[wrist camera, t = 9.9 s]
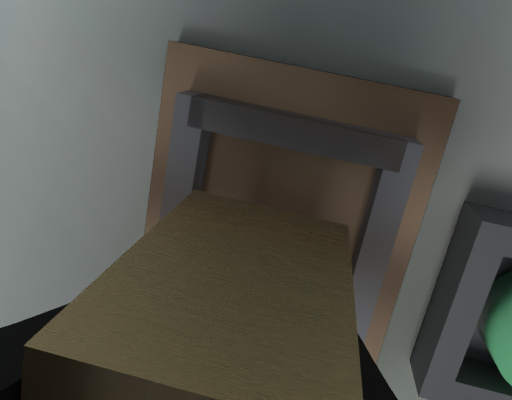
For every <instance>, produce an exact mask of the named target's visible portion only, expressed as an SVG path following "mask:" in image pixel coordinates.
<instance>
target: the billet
mask: <svg viewBox="0 0 512 400" xmlns="http://www.w3.org/2000/svg"><path fill="white" fill-rule="evenodd" d="M21 400H363V393H362V381H361V369H360V357H359V345H358V333H357V321H356V309H355V297H354V285H353V274H352V262H351V250H350V238H349V226H348V225H344V224H340V223H335V222H331V221H327V220H323V219H318V218H314V217H310V216H305V215H301V214H297V213H293V212H288V211H284V210H280V209H276V208H271V207H267V206H263V205H258V204H254V203H250V202H246V201H241V200H237V199H233V198H229V197H224V196H220V195H216V194H211V193H207V192H203V191H199V190H193V191H192V192H191V193H190V194H189V195H188V196H187V197H186V198H184V199H183V200H182V201H181V202H180V203H179V204H178V205H177V206H176V207H175V208H174V209H172V210H171V211H170V212H169V213H168V214H167V215H166V216H165V217H164V218H163V219H161V220H160V221H159V222H158V223H157V224H156V225H155V226H154V227H153V228H152V229H151V230H149V231H148V232H147V233H146V234H145V235H144V236H143V237H142V238H141V239H140V240H138V241H137V242H136V243H135V244H134V245H133V246H132V247H131V248H130V249H129V250H128V251H126V252H125V253H124V254H123V255H122V256H121V257H120V258H119V259H118V260H117V261H115V262H114V263H113V264H112V265H111V266H110V267H109V268H108V269H107V270H106V271H105V272H103V273H102V274H101V275H100V276H99V277H98V278H97V279H96V280H95V281H94V282H92V283H91V284H90V285H89V286H88V287H87V288H86V289H85V290H84V291H83V292H81V293H80V294H79V295H78V296H77V297H76V298H75V299H74V300H73V301H72V302H71V303H69V304H68V305H67V306H66V307H65V308H64V309H63V310H62V311H61V312H60V313H58V314H57V315H56V316H55V317H54V318H53V319H52V320H51V321H50V322H49V323H48V324H46V325H45V326H44V327H43V328H42V329H41V330H40V331H39V332H38V333H37V334H35V335H34V336H33V337H32V338H31V339H30V340H29V341H28V342H27V343H26V344H25V345H23V366H22V389H21Z"/></svg>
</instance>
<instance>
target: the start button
mask: <svg viewBox="0 0 512 400" xmlns="http://www.w3.org/2000/svg"><path fill="white" fill-rule="evenodd" d="M477 327H478V330H479V333H480V335H481V337H482V339H483V341H484V343H485V344H486V346H487V348H488V350H489V352H490V354H491V356H492V358H493V359H494V361H495V363H496V365H497V367H498V369H499V371H500V373H501V374H502V376H503V377H504V379H505V380H506V381H507V382H508V383H509V384H510V385H511V386H512V271H511V272H508V273H506V274H504V275H503V276H501V277H499V278H498V279H497V280H495V281H494V282H493V284H492V287H491V289H490V292H489V294H488V297H487V300H486V302H485V305H484V307H483V310H482V312H481V315H480V318H479V320H478V323H477Z"/></svg>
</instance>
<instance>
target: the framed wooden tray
mask: <svg viewBox="0 0 512 400" xmlns="http://www.w3.org/2000/svg"><path fill="white" fill-rule="evenodd" d="M459 103H460V100H459V99H456V98H453V97H448V96H443V95H438V94H433V93H428V92H423V91H418V90H413V89H408V88H403V87H398V86H393V85H388V84H383V83H378V82H374V81H369V80H364V79H359V78H354V77H349V76H344V75H339V74H334V73H329V72H324V71H319V70H314V69H309V68H304V67H299V66H295V65H290V64H285V63H280V62H275V61H270V60H265V59H260V58H255V57H250V56H245V55H240V54H235V53H230V52H225V51H220V50H215V49H211V48H206V47H201V46H196V45H191V44H186V43H181V42H175V41H168V49H167V57H166V65H165V73H164V81H163V89H162V97H161V105H160V113H159V121H158V129H157V137H156V145H155V153H154V161H153V169H152V177H151V185H150V193H149V201H148V209H147V217H146V225H145V233H144V235H145V234H146V233H147V232H148V231H149V230H151V229H152V228H153V227H154V226H155V225H156V224H157V223H158V222H159V221H160V220H161V219H163V218H164V217H165V216H166V215H167V214H168V213H169V212H170V211H171V210H172V209H174V208H175V207H176V206H177V205H178V204H179V203H180V202H181V201H182V200H183V199H184V198H186V197H187V196H188V195H189V194H190V193H191V192H192V191H193V190H199V191H203V192H207V193H211V194H216V195H220V196H224V197H229V198H233V199H237V200H241V201H246V202H250V203H254V204H258V205H263V206H267V207H271V208H276V209H280V210H284V211H288V212H293V213H297V214H301V215H305V216H310V217H314V218H318V219H323V220H327V221H331V222H335V223H340V224H344V225H348V226H349V238H350V250H351V262H352V274H353V285H354V297H355V309H356V321H357V333H358V334H359V336H360V338H361V339H362V341H363V343H364V344H365V346H366V348H367V350H368V351H369V353H370V355H371V357H372V358H373V360H374V362H375V364H376V362H377V359H378V356H379V353H380V350H381V347H382V344H383V340H384V337H385V334H386V331H387V328H388V325H389V322H390V319H391V315H392V312H393V309H394V306H395V303H396V300H397V297H398V294H399V290H400V287H401V284H402V281H403V278H404V275H405V272H406V269H407V265H408V262H409V259H410V256H411V253H412V250H413V247H414V244H415V240H416V237H417V234H418V231H419V228H420V225H421V222H422V219H423V215H424V212H425V209H426V206H427V203H428V200H429V197H430V194H431V190H432V187H433V184H434V181H435V178H436V175H437V172H438V169H439V165H440V162H441V159H442V156H443V153H444V150H445V147H446V144H447V140H448V137H449V134H450V131H451V128H452V125H453V122H454V119H455V115H456V112H457V109H458V106H459Z"/></svg>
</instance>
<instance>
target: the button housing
mask: <svg viewBox="0 0 512 400" xmlns="http://www.w3.org/2000/svg"><path fill="white" fill-rule="evenodd" d="M511 271H512V212H508V211H504V210H499V209H495V208H490V207H486V206H481V205H477V204H472V203H468V202H464V205H463V207H462V210H461V213H460V216H459V219H458V222H457V225H456V228H455V231H454V233H453V236H452V239H451V242H450V245H449V248H448V251H447V254H446V257H445V260H444V262H443V265H442V268H441V271H440V274H439V277H438V280H437V283H436V286H435V288H434V291H433V294H432V297H431V300H430V303H429V306H428V309H427V312H426V315H425V317H424V320H423V323H422V326H421V329H420V332H419V335H418V338H417V341H416V343H415V346H414V349H413V352H412V355H411V358H410V364H411V368H412V372H413V376H414V380H415V384H416V388H417V392H418V396H419V397H422V398H426V399H430V400H512V386H511V385H510V384H509V383H508V382H507V381H506V380H505V379H504V377H503V376H502V374H501V373H500V371H499V369H498V367H497V365H496V363H495V361H494V359H493V358H492V356H491V354H490V352H489V350H488V348H487V346H486V344H485V343H484V341H483V339H482V337H481V335H480V333H479V330H478V327H477V323H478V320H479V318H480V315H481V312H482V310H483V307H484V305H485V302H486V300H487V297H488V294H489V292H490V289H491V287H492V284H493V282H494V281H495V280H497V279H498V278H499V277H501V276H503V275H504V274H506V273H508V272H511Z"/></svg>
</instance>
